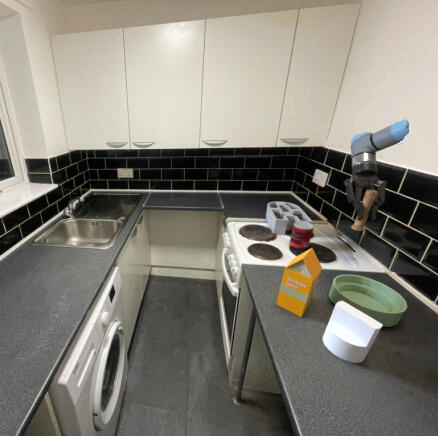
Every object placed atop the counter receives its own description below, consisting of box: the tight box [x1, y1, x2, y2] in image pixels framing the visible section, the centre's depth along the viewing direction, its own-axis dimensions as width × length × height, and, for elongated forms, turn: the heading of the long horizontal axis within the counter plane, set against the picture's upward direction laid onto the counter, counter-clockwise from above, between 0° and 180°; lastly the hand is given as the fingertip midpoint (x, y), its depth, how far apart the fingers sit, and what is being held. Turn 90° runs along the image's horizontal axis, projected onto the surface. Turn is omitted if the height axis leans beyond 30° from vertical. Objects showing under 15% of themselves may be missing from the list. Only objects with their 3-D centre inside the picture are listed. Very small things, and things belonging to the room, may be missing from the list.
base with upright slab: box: [322, 301, 384, 364], centre depth 60 cm, size 9×9×12 cm
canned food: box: [289, 221, 315, 250], centre depth 107 cm, size 8×8×11 cm
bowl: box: [328, 274, 408, 328], centre depth 73 cm, size 17×17×6 cm
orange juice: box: [275, 247, 323, 318], centre depth 72 cm, size 8×9×20 cm
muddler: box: [351, 190, 378, 232], centre depth 90 cm, size 4×4×16 cm
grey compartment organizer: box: [265, 201, 314, 236], centre depth 128 cm, size 17×28×9 cm, turn 165°
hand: (366, 219), depth 87 cm, fingers closed on muddler, 3 cm apart
